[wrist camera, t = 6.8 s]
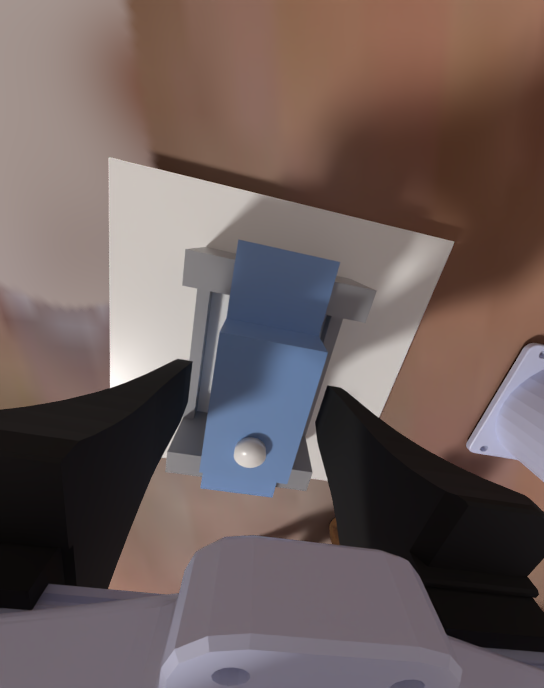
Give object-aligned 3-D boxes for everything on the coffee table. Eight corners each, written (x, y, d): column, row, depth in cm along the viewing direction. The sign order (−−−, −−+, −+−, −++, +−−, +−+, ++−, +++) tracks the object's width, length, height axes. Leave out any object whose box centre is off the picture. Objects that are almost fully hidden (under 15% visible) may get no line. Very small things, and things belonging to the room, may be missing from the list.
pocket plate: (444, 241, 13) (517, 242, 10) (347, 474, 19) (368, 534, 15) (118, 162, 12) (46, 123, 8) (117, 441, 18) (74, 499, 14)
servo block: (321, 256, 12) (357, 267, 8) (270, 448, 17) (273, 536, 12) (245, 239, 12) (231, 239, 7) (213, 439, 16) (190, 527, 11)
